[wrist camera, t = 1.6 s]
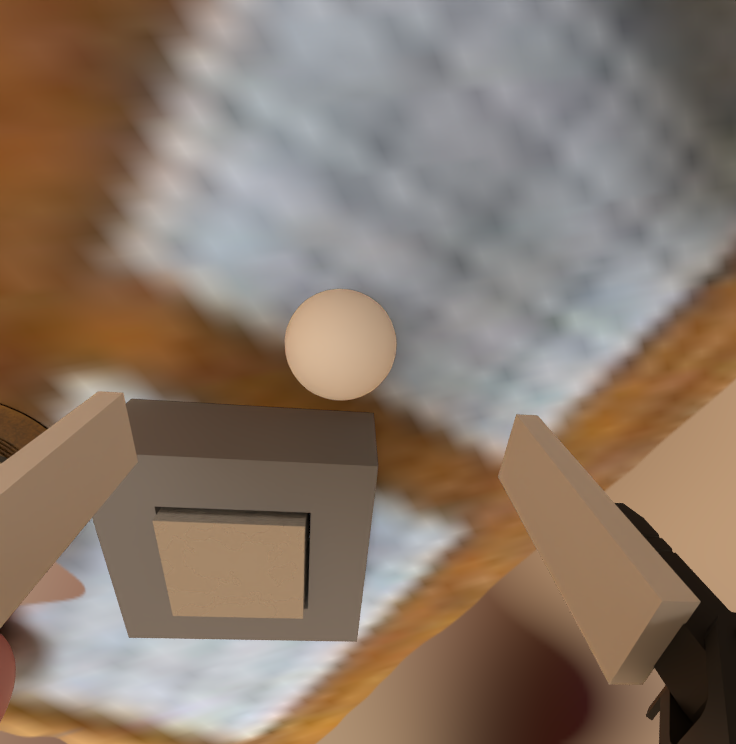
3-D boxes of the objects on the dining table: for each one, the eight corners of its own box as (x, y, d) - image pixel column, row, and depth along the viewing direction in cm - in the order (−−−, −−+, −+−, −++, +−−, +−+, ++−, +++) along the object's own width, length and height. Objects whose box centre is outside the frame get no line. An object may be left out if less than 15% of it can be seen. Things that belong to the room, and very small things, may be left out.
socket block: (373, 412, 32) (378, 466, 25) (356, 571, 40) (356, 641, 34) (131, 398, 30) (72, 451, 24) (166, 565, 39) (128, 637, 32)
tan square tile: (309, 495, 29) (304, 526, 26) (307, 584, 33) (303, 618, 30) (172, 489, 28) (152, 520, 25) (188, 581, 32) (172, 615, 30)
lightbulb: (300, 339, 29) (270, 414, 19) (307, 259, 26) (278, 295, 16) (377, 350, 29) (389, 428, 19) (392, 273, 27) (414, 316, 17)
